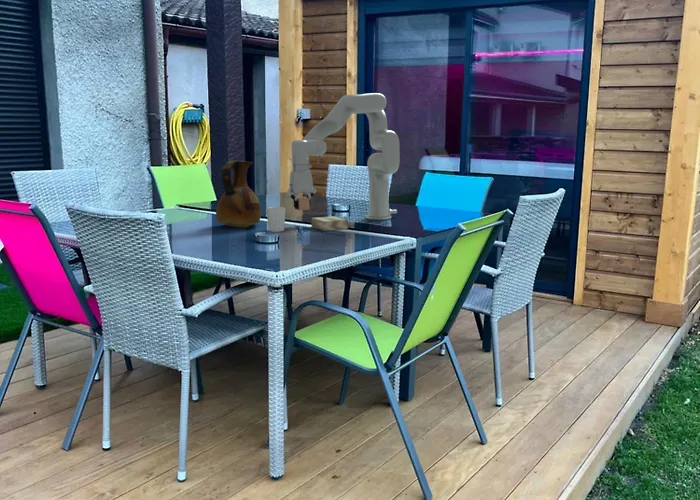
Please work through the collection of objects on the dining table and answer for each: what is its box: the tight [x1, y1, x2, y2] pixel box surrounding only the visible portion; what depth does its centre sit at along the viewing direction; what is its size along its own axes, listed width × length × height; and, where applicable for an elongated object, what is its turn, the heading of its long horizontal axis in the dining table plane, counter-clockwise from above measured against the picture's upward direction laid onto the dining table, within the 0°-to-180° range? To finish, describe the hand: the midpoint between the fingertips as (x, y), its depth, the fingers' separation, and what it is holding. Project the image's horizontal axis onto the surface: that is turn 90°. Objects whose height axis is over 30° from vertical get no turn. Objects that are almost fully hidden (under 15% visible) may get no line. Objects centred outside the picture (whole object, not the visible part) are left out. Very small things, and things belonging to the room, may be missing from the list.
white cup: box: [266, 206, 286, 233], centre depth 293 cm, size 8×8×10 cm
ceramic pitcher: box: [215, 159, 262, 228], centre depth 300 cm, size 20×20×30 cm
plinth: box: [311, 215, 349, 232], centre depth 301 cm, size 12×12×4 cm
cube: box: [296, 196, 311, 211], centre depth 305 cm, size 5×5×5 cm
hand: (302, 207), depth 306 cm, fingers closed on cube, 4 cm apart
